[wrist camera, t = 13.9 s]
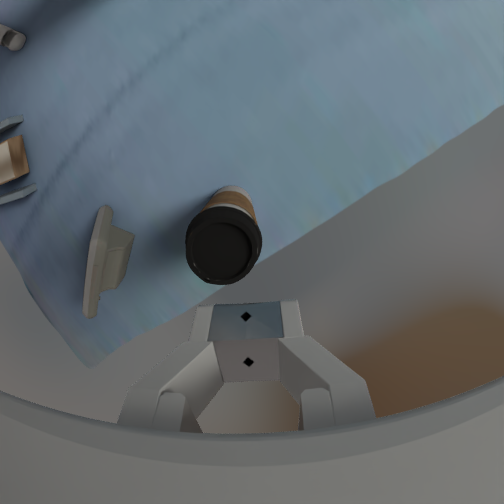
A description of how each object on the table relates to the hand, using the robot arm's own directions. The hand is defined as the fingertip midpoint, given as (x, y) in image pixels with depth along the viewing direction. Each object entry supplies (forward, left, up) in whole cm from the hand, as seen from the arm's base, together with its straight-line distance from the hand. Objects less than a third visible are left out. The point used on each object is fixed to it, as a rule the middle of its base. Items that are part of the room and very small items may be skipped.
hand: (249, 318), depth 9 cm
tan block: (-7, -44, -34) cm, 56 cm away
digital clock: (+13, -26, -34) cm, 45 cm away
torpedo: (-34, -43, -35) cm, 65 cm away
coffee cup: (+8, -4, -34) cm, 35 cm away
